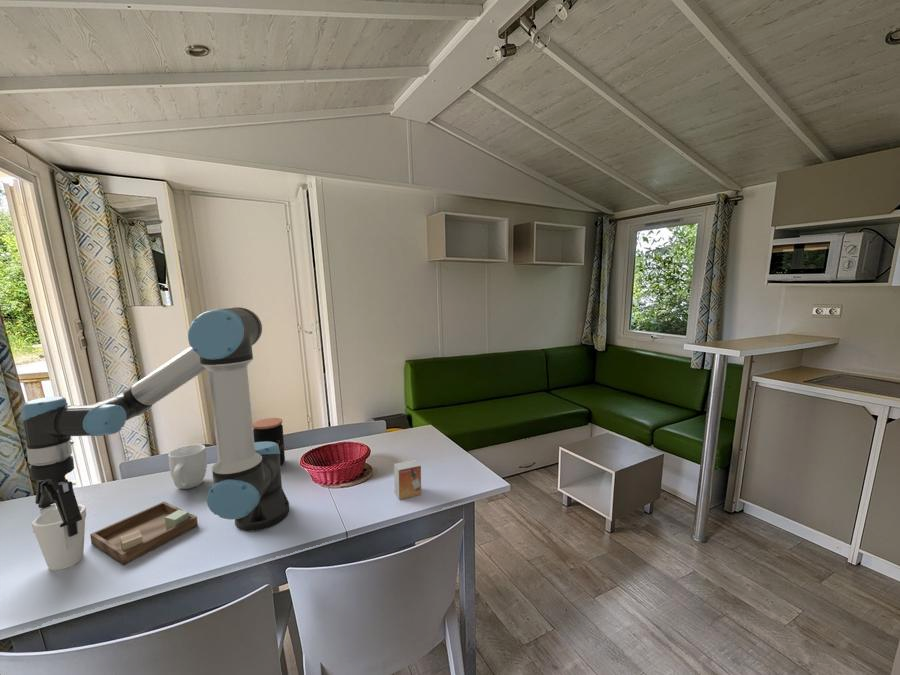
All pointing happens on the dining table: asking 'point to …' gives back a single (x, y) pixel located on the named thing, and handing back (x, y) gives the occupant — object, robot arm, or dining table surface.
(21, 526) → the dining table surface
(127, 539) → the block
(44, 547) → the foam cup
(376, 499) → the dining table surface
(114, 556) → the tray
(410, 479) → the small box
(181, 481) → the mug
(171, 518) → the block
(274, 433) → the coffee jar
